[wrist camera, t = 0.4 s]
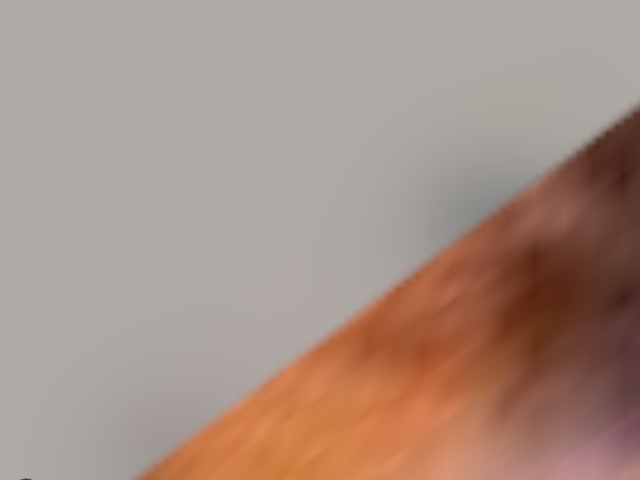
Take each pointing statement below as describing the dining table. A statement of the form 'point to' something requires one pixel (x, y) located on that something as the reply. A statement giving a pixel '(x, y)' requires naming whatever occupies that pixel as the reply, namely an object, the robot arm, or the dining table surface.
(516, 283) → the dining table surface
